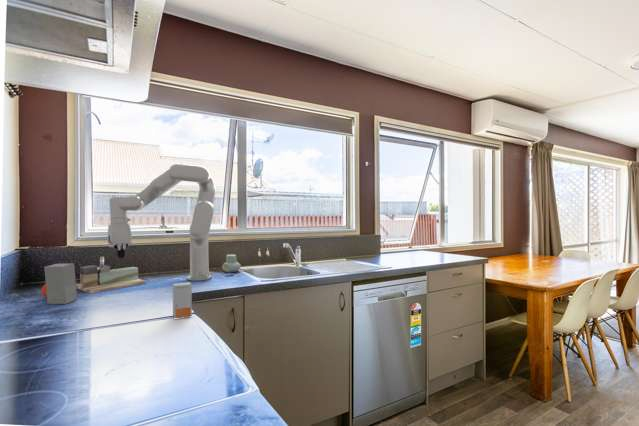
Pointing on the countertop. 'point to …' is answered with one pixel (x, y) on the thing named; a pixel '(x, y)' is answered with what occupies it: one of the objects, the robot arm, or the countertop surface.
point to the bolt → (101, 263)
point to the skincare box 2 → (182, 300)
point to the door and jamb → (107, 278)
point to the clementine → (44, 290)
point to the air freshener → (231, 264)
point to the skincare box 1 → (60, 283)
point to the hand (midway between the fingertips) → (121, 257)
